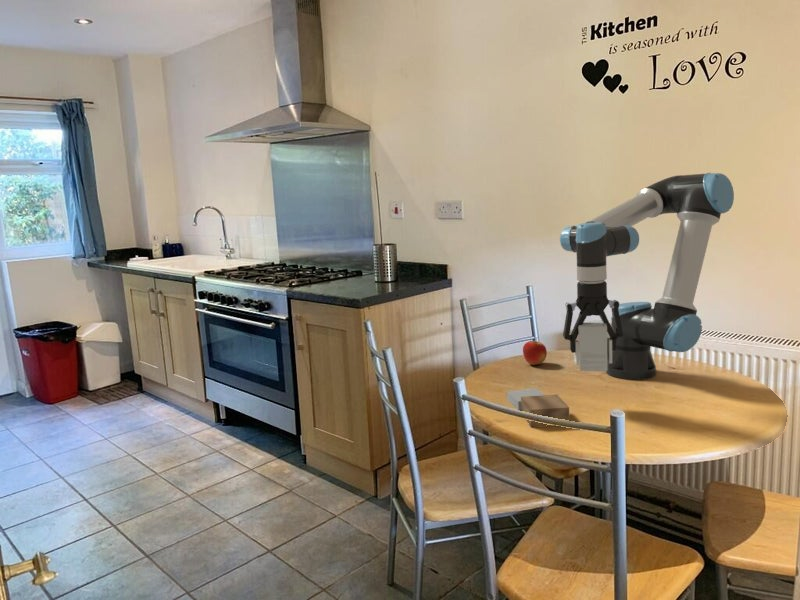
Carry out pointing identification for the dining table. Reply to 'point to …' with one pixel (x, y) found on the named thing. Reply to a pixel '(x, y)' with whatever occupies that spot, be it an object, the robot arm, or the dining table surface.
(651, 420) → the dining table surface
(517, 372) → the dining table surface
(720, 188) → the robot arm
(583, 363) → the supplement box
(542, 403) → the walnut block
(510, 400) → the slate coaster
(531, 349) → the apple
